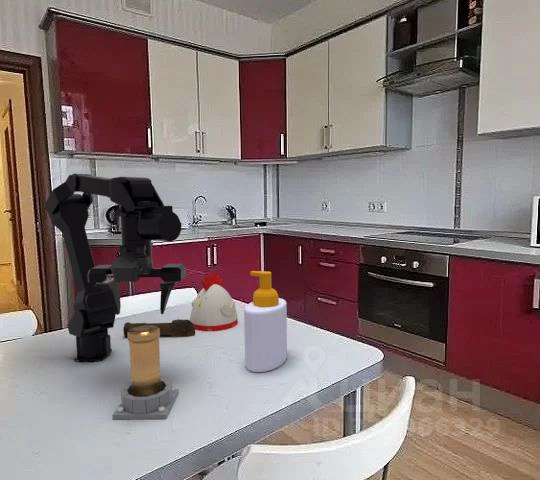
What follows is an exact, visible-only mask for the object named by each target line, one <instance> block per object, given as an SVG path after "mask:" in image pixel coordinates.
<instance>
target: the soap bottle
mask: <svg viewBox="0 0 540 480" xmlns="http://www.w3.org/2000/svg"><path fill="white" fill-rule="evenodd" d="M249 274H250V276H252V277H259V288H257V289H256V290H255V291H254V292H253V295H252V300H253V301H251V302H250V303H248V304H246V305H245V307H244V310H243V317H244V319H243V320H244V323H243V324H244V325H243V326H244V328H243V329H244V364H245V367H246V369H247V370H248V371H250V372H251V373H263V372H264V373H265V372H269V371H271V370H274V369H277V368H279V367H280V366H282V365H284V363H285V361H286V360H287V357H288V338H287V336H288V333H287V331H288V328H287V327H288V326H287V325H288V322H287V316H288V315H287V314H288V313H287V308H288V307H287V301H286V300H285V299H283V298H280V297H279V294H278V292H277V290H276V289H275V288H273V287H272V272H271V271H268V270H267V271H264V270H263V271H260V270H257V271H256V270H252V271H250V273H249Z"/></svg>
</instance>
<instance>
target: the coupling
mask: <svg viewBox="0 0 540 480" xmlns="http://www.w3.org/2000/svg"><path fill="white" fill-rule="evenodd" d="M127 335H128V336H127V341H128V343H129V344H128V345H129V346H128V347H129V363H130V364H129V365H130V380H131V382H130V383H132V396H135V397H147V396H151V395H155V394H157V393H159V392H161V378H162V375H161V373H162V371H161V354H160V353H161V352H160V337H161V335H160V328H159V327H157V326H139V327H135V328H132V329H130V330H129V331H128V332H127Z"/></svg>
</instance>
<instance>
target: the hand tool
mask: <svg viewBox="0 0 540 480" xmlns="http://www.w3.org/2000/svg"><path fill="white" fill-rule="evenodd" d="M139 326H157V327H159V328H160V336H172V338H184V337H192V336H195V335H196V330H195V327H194V325H193V323H192V322H191V321H190V319H182V318H181V319H180V318H177V319H173V320H172V321H171V322H152V323H151V322H150V323H149V322H148V323H146V322H135V323H134V322H133V323H132V322H128V321H127V322H125V323H124V326H123V327H122V328H123V329H122V330H123V337H124V338H128V335H127V332H128V331H129V330H130V329H132V328H135V327H139Z"/></svg>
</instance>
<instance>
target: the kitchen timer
mask: <svg viewBox="0 0 540 480" xmlns="http://www.w3.org/2000/svg"><path fill="white" fill-rule="evenodd" d="M223 282H224V279H223V278H221V277H220V276H219V275H217V273H214V272H213V273H209V275H205V276H204V280H201V284H202V287H203V288H202V289H201V290H200V291H199V293H198V294H197V295H196V297H195V298H194V299H193V300H192V302H191V311H190V317H189V320H190V321H191V322H192V323H193V325H194V327H195V331H198V332H199V331H200V332H220V331H227V330H229V329H233V328H234V327H236V326H237V325H238V320H239V319H238V313H237V309H236V302H235V301H234V299H233V298H232V296H231V295H230V293H229V292H228V291H227V290H226V289H225V288H224V287H223Z"/></svg>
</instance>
